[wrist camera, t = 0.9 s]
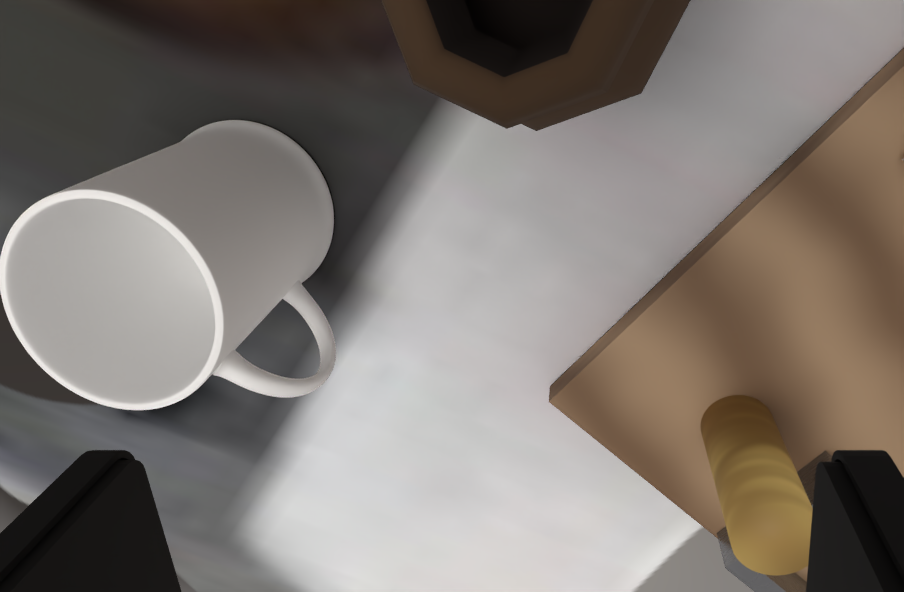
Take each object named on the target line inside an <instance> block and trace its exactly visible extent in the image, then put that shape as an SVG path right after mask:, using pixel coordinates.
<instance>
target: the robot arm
mask: <svg viewBox="0 0 904 592" xmlns="http://www.w3.org/2000/svg"><path fill="white" fill-rule="evenodd" d="M0 592H181V589H180V585H179V582H178V579H177V575H176V572H175V569H174V565H173V562H172V558H171V555H170V552H169V548H168V545H167V542H166V538H165V535H164V531H163V528H162V525H161V521H160V518H159V515H158V511H157V508H156V504H155V501H154V498H153V494H152V491H151V488H150V484H149V481H148V478H147V474H146V471H145V468H144V466H143V464H142V463H141V462H140V461H137V460H135V459H134V456H133V455H132V454H131V453H130V452H128V451H125V450H92V451H87V452H85V453H84V454H82V455H81V456H80V457H79V458H78V459H77V460H76V461H75V462H74V463H73V464H72V465H71V466H70V467H69V468H67V469H66V470H65V471H64V472H63V473H62V474H61V475H60V476H59V477H58V478H57V479H56V480H55V481H54V482H53V483H52V484H51V485H50V486H49V487H48V488H47V489H46V490H45V491H44V492H43V493H42V494H41V495H40V496H38V497H37V498H36V499H35V500H34V501H33V502H32V503H31V504H30V505H29V506H28V507H27V508H26V509H25V510H24V511H23V512H22V513H21V514H20V515H19V516H18V517H17V518H16V519H15V520H14V521H13V522H12V523H11V524H10V525H8V526H7V527H6V528H5V529H4V530H3V531H2V532H1V533H0ZM806 592H904V477H903V476H902V474H901V473H900V471H899V469H898V468H897V466H896V465H895V463H894V461H893V460H892V458H891V456H890V455H889V454H888V453H887V452H886V451H884V450H836V451H835V452H834V453H833V456H832V459H831V462H819V463H818V464H817V467H816V474H815V486H814V499H813V511H812V523H811V536H810V548H809V561H808V573H807V585H806Z"/></svg>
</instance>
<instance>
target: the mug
mask: <svg viewBox="0 0 904 592" xmlns="http://www.w3.org/2000/svg"><path fill="white" fill-rule="evenodd" d="M333 229H334V210H333V204H332V199H331V195H330V192H329V189H328V186H327V183H326V181H325V179H324V177H323V175H322V173H321V171H320V170H319V168H318V167H317V165H316V164H315V162H314V161H313V160H312V158H311V157H310V156H309V155H308V154H307V152H306V151H305V150H304V149H303V148H302V147H300V146H299V145H298V144H297V143H296V142H295V141H293V140H292V139H291V138H289V137H288V136H286V135H285V134H283V133H281V132H279V131H278V130H276V129H273V128H271V127H269V126H266V125H263V124H260V123H256V122H252V121H245V120H225V121H219V122H215V123H211V124H208V125H206V126H203V127H201V128H199V129H197V130H195V131H194V132H192V133H191V134H189V135H188V136H187V137H186V138H184V139H183V140H182V141H181V142H179V143H177V144H174V145H172V146H169V147H167V148H164V149H162V150H160V151H157V152H155V153H152V154H150V155H147V156H145V157H142V158H140V159H138V160H135V161H133V162H130V163H128V164H125V165H123V166H120V167H118V168H115V169H113V170H111V171H108V172H106V173H103V174H101V175H98V176H96V177H93V178H91V179H89V180H86V181H84V182H81V183H79V184H76V185H74V186H71V187H69V188H66V189H64V190H62V191H59V192H57V193H54V194H52V195H50V196H48V197H46V198H44V199H42V200H40V201H38V202H37V203H35V204H34V205H32V206H31V207H30V208H28V209H27V210H26V211H25V212H24V213H23V214H22V215H21V216H20V217H19V218H18V219H17V221H16V222H15V223H14V225H13V226H12V228H11V230H10V231H9V233H8V235H7V237H6V240H5V242H4V245H3V249H2V253H1V257H0V291H1V296H2V301H3V305H4V308H5V311H6V314H7V317H8V319H9V322H10V323H11V326H12V328H13V330H14V332H15V334H16V335H17V337H18V339H19V340H20V342H21V343H22V345H23V346H24V348H25V349H26V351H27V352H28V353H29V354H30V355H31V357H32V358H33V359H34V360H35V361H36V363H38V365H39V366H40V367H41V368H42V369H43V370H44V371H46V372H47V373H48V374H49V375H50V376H51V377H53V378H54V379H55V380H56V381H57V382H59V383H60V384H62V385H63V386H65V387H66V388H68V389H69V390H71V391H73V392H74V393H76V394H78V395H80V396H82V397H84V398H86V399H88V400H91V401H93V402H96V403H99V404H102V405H105V406H109V407H114V408H119V409H126V410H148V409H156V408H161V407H164V406H168V405H171V404H173V403H176V402H178V401H180V400H182V399H184V398H185V397H187V396H189V395H190V394H191V393H193V392H194V391H195V390H197V389H198V388H199V387H200V386H201V385H202V384H203V383H204V382H205V381H206V380H207V379H208V378H209V377H210V376H211V375H212V374H213V375H215V376H220V377H223V378H225V379H227V380H229V381H231V382H233V383H235V384H237V385H239V386H241V387H244V388H246V389H249V390H251V391H254V392H257V393H260V394H264V395H269V396H274V397H297V396H302V395H305V394H308V393H310V392H312V391H314V390H316V389H317V388H319V387H320V386H321V385H322V384H323V383H324V382H325V381H326V380H327V379H328V377H329V376H330V374H331V372H332V370H333V368H334V365H335V360H336V345H335V340H334V336H333V333H332V330H331V327H330V325H329V323H328V321H327V319H326V317H325V315H324V314H323V312H322V310H321V309H320V307H319V306H318V304H317V303H316V302H315V300H314V299H313V298H312V297H311V295H310V294H309V293H308V292H307V290H306V289H305V288H304V287H303V285H302V284H301V283H302V282H304V281H305V280H306V279H308V278H309V277H310V276H311V275H312V274H313V273H314V272H315V271H316V270H317V268H318V267H319V266H320V264H321V263H322V261H323V260H324V258H325V256H326V254H327V252H328V249H329V247H330V244H331V240H332V235H333ZM282 299H284V300H285V301H287V302H288V303H289V304H291V305H292V306H293V307H294V308H295V309H296V310H297V311H298V312H299V313H300V314H301V315H302V317H303V318H304V319H305V321H306V322H307V324H308V325H309V327H310V328H311V330H312V332H313V334H314V336H315V338H316V341H317V343H318V346H319V350H320V358H321V362H320V368H319V370H318V372H317V373H316V374H315V375H314V376H311V377H308V378H302V379H293V378H286V377H281V376H278V375H275V374H272V373H269V372H267V371H264V370H262V369H260V368H258V367H256V366H254V365H253V364H251V363H250V362H248V361H247V360H245V359H244V358H243V357H242V356H241V355H240V354H238V353H237V352H236V351H235V349H236V348H237V347H238V346H239V345H240V344H241V342H242V341H243V340H244V339H245V338H246V337H247V336H248V335H249V334H250V333H251V332H252V331H253V330H254V329H255V327H256V326H257V325H258V324H259V323H260V322H261V321H262V320H263V319H264V318H265V317H266V316H267V315H268V314H269V312H270V311H271V310H272V309H273V308H274V307H275V306H276V305H277V304H278V303H279V302H280V301H281V300H282Z"/></svg>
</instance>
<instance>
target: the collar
mask: <svg viewBox="0 0 904 592" xmlns="http://www.w3.org/2000/svg"><path fill="white" fill-rule="evenodd" d="M831 459H832V456H831V455H830V454H829V453H828V452H827V451H826V450H825V451H824V452H822V453H821V454H820V455H818V456H817V457H816V458H815V459H813V460H812V461H811V462H809V463H808V464H807V465H805V466H804V467H803V468H801V469H800V470H799V471H797V474H798V476H799V478H800V480H801V483H802V485H803V487H804V490H805V492H806V494H807V497H808V499H809V501H810V503H811V506H812V508H813V499H814V486H815V474H816V467H817V464H818V463H819V462H831ZM717 536H718V540H719V544H720V548H721V552H722V556H723V561H724V564H725V568H726V569H727V570H728V571H730V572H731V573H732V574H733V575H735V576H736V577H737V578H738V579H739V580H741V581H742V582H743V583H745V584H746V585H747V586H748V587H749V588H751V589H752V590H753V591H754V592H806V585H807V582H806V581H805V580H804V579H803V578H801V577H800V576H799V575H798V574H797V573H795V572H794V573H791V574H787V575H765V574H761V573H757V572H755V571H752V570H751V569H749V568H747V567H746V566H744V565H743V564H742V563H741V562H740V561H739V560H738V559H737V558H736V556H735V555H734V553H733V550H732V547H731V543H730V540H729V536H728V532H727V528H726V526H725V527H724V528H722V529H721V530H720V531H718V532H717Z"/></svg>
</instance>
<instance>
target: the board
mask: <svg viewBox="0 0 904 592" xmlns="http://www.w3.org/2000/svg"><path fill="white" fill-rule="evenodd" d="M903 158H904V48H903V49H902V50H901V51H900V52H899V53H898V54H897V55H896V56H895V57H894V58H893V59H892V60H891V61H890V62H889V63H888V64H887V65H886V66H884V67H883V68H882V69H881V70H880V71H879V72H878V73H877V74H876V75H875V76H874V77H873V78H872V79H871V80H870V81H869V82H868V83H867V84H866V85H865V86H864V87H863V88H861V89H860V90H859V91H858V92H857V93H856V94H855V95H854V96H853V97H852V98H851V99H850V100H849V101H848V102H847V103H846V104H845V105H844V106H843V107H842V108H841V109H840V110H839V111H837V112H836V113H835V114H834V115H833V116H832V117H831V118H830V119H829V120H828V121H827V122H826V123H825V124H824V125H823V126H822V127H821V128H820V129H819V130H818V131H817V132H816V133H814V134H813V135H812V136H811V137H810V138H809V139H808V140H807V141H806V142H805V143H804V144H803V145H802V146H801V147H800V148H799V149H798V150H797V151H796V152H795V153H794V154H793V155H791V156H790V157H789V158H788V159H787V160H786V161H785V162H784V163H783V164H782V165H781V166H780V167H779V168H778V169H777V170H776V171H775V172H774V173H773V174H772V175H771V176H770V177H768V178H767V179H766V180H765V181H764V182H763V183H762V184H761V185H760V186H759V187H758V188H757V189H756V190H755V191H754V192H753V193H752V194H751V195H750V196H749V197H748V198H747V199H745V200H744V201H743V202H742V203H741V204H740V205H739V206H738V207H737V208H736V209H735V210H734V211H733V212H732V213H731V214H730V215H729V216H728V217H727V218H726V219H725V220H724V221H723V222H721V223H720V224H719V225H718V226H717V227H716V228H715V229H714V230H713V231H712V232H711V233H710V234H709V235H708V236H707V237H706V238H705V239H704V240H703V241H702V242H701V243H700V244H698V245H697V246H696V247H695V248H694V249H693V250H692V251H691V252H690V253H689V254H688V255H687V256H686V257H685V258H684V259H683V260H682V261H681V262H680V263H679V264H678V265H677V266H675V267H674V268H673V269H672V270H671V271H670V272H669V273H668V274H667V275H666V276H665V277H664V278H663V279H662V280H661V281H660V282H659V283H658V284H657V285H656V286H655V287H654V288H652V289H651V290H650V291H649V292H648V293H647V294H646V295H645V296H644V297H643V298H642V299H641V300H640V301H639V302H638V303H637V304H636V305H635V306H634V307H633V308H632V309H631V310H630V311H628V312H627V313H626V314H625V315H624V316H623V317H622V318H621V319H620V320H619V321H618V322H617V323H616V324H615V325H614V326H613V327H612V328H611V329H610V330H609V331H608V332H607V333H605V334H604V335H603V336H602V337H601V338H600V339H599V340H598V341H597V342H596V343H595V344H594V345H593V346H592V347H591V348H590V349H589V350H588V351H587V352H586V353H585V354H584V355H582V356H581V357H580V358H579V359H578V360H577V361H576V362H575V363H574V364H573V365H572V366H571V367H570V368H569V369H568V370H567V371H566V372H565V373H564V374H563V375H562V376H561V377H559V378H558V379H557V380H556V381H555V382H554V383H553V384H552V385H551V386H550V394H549V402H550V403H551V404H552V405H554V406H555V407H556V408H557V409H559V410H560V411H561V412H562V413H563V414H565V415H566V416H567V417H568V418H570V419H571V420H572V421H573V422H575V423H576V424H577V425H578V426H580V427H581V428H582V429H583V430H584V431H586V432H587V433H588V434H589V435H591V436H592V437H593V438H594V439H596V440H597V441H598V442H599V443H601V444H602V445H603V446H604V447H605V448H607V449H608V450H609V451H610V452H612V453H613V454H614V455H615V456H617V457H618V458H619V459H620V460H622V461H623V462H624V463H625V464H626V465H628V466H629V467H630V468H631V469H633V470H634V471H635V472H636V473H638V474H639V475H640V476H641V477H643V478H644V479H645V480H646V481H647V482H649V483H650V484H651V485H652V486H654V487H655V488H656V489H657V490H659V491H660V492H661V493H662V494H663V495H665V496H666V497H667V498H668V499H670V500H671V501H672V502H673V503H675V504H676V505H677V506H678V507H680V508H681V509H682V510H683V511H684V512H686V513H687V514H688V515H689V516H691V517H692V518H693V519H694V520H696V521H697V522H698V523H699V524H701V525H702V526H703V527H704V528H706V529H707V530H708V531H709V532H710V533H712V534H713V535H714V536H715V537H717V538H718V536H717V532H718V531H720V530H721V529H722V528H724V527H725V526H726V524H725V521H724V517H723V513H722V509H721V505H720V502H719V498H718V494H717V490H716V487H715V483H714V479H713V475H712V471H711V468H710V464H709V460H708V456H707V452H706V449H705V445H704V441H703V437H702V433H701V427H700V426H701V419H702V417H703V414H704V413H705V411H706V410H707V408H708V407H709V406H710V405H711V404H713V403H714V402H715V401H717V400H719V399H721V398H724V397H727V396H732V395H745V396H750V397H753V398H755V399H757V400H759V401H761V402H762V403H763V404H765V405H766V406H767V408H768V409H769V410H770V412H771V414H772V416H773V419H774V421H775V423H776V425H777V428H778V430H779V432H780V435H781V437H782V439H783V442H784V444H785V446H786V448H787V451H788V453H789V455H790V458H791V460H792V462H793V464H794V467H795V469H796V471H799V470H800V469H801V468H803V467H804V466H805V465H807V464H808V463H809V462H811V461H812V460H813V459H815V458H816V457H817V456H818V455H820V454H821V453H822V452H824V451H825V450H826V451H827V452H828V453H829V454H830V455H831V456H833V453H834V452H835V451H836V450H884V451H886V452H887V453H888V454H889V455H890V456H891V458H892V460H893V461H894V463H895V465H896V466H897V468H898V469H899V471H900V473H901V474H902V476H903V477H904V161H902V159H903ZM795 573H797V574H798V575H799V576H800V577H801V578H803V579H804V580H805V581H806V582H807V573H808V566H807V567H805V568H804V569H802V570H800V571H797V572H795Z"/></svg>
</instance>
